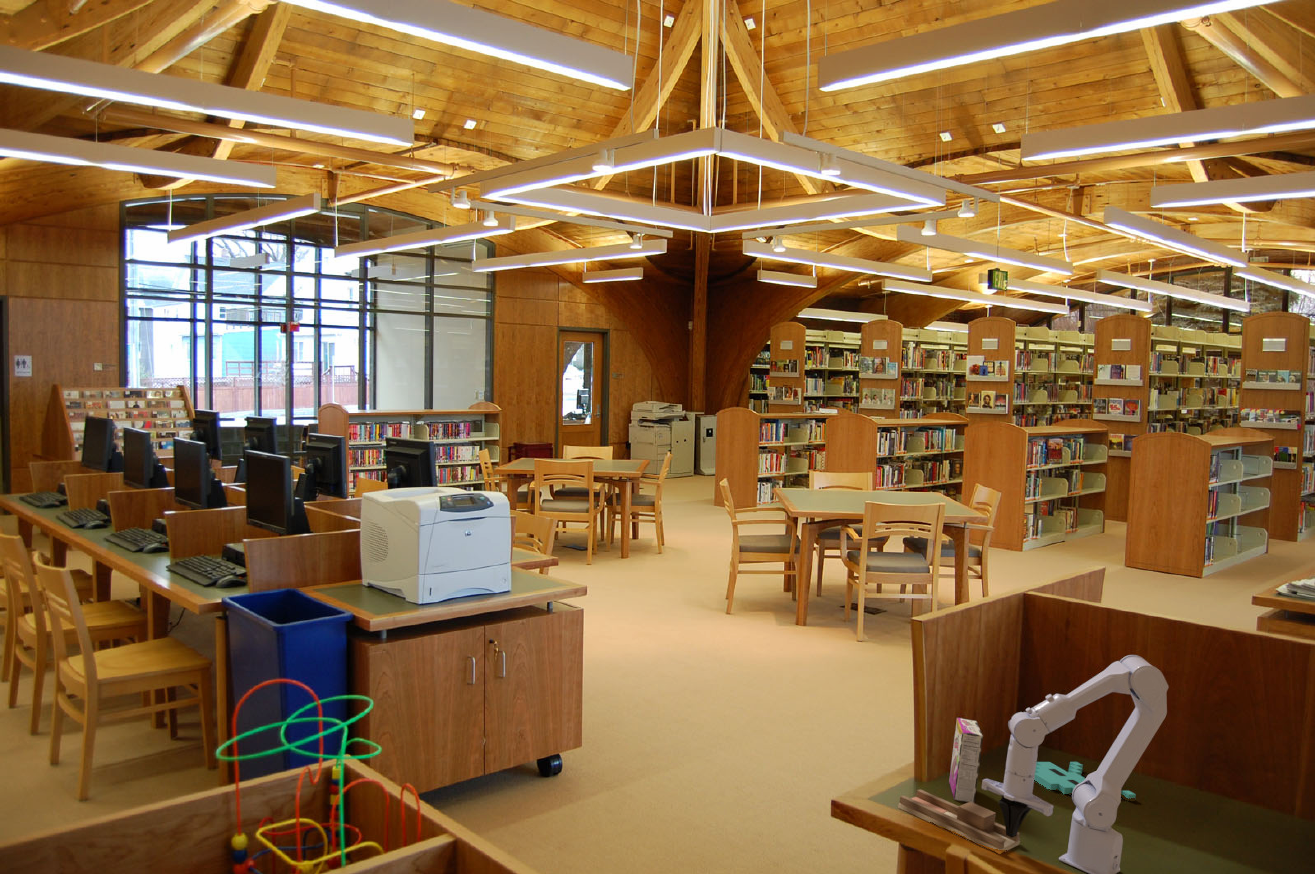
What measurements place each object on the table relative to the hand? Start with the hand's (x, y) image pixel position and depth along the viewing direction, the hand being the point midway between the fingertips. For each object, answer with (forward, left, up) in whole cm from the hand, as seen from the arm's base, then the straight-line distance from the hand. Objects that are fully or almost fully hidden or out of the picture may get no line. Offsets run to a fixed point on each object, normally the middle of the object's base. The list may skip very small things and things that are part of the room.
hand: (1011, 835), depth 192 cm
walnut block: (+8, 0, -2) cm, 8 cm away
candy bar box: (+21, -18, -3) cm, 28 cm away
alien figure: (+9, -53, -4) cm, 54 cm away
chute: (+12, 0, -3) cm, 12 cm away
